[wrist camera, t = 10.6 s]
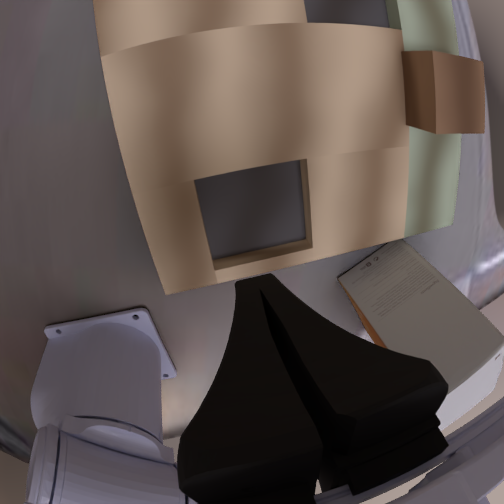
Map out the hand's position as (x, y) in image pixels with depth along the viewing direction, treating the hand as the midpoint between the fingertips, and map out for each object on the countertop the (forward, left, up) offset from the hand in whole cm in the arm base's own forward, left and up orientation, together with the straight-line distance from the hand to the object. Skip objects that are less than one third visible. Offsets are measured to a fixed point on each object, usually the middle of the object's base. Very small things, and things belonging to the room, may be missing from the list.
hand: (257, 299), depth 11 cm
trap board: (+6, +6, -9) cm, 13 cm away
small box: (+12, -10, -10) cm, 18 cm away
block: (+15, +6, -8) cm, 18 cm away
